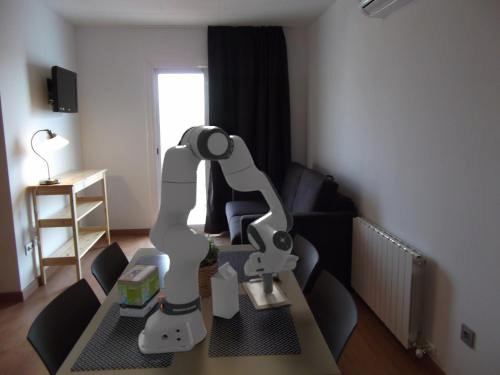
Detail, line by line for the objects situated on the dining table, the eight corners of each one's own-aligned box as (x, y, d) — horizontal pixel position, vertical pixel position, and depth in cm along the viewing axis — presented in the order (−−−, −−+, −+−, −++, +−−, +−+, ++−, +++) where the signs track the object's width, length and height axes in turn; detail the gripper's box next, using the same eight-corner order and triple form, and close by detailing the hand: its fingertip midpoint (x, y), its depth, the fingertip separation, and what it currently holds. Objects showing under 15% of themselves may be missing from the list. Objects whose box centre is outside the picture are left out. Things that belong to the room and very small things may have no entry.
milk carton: (213, 315, 141) (210, 267, 137) (223, 306, 147) (220, 260, 143) (229, 319, 138) (226, 270, 134) (239, 310, 144) (236, 263, 140)
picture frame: (260, 280, 169) (260, 267, 168) (260, 278, 170) (259, 266, 169) (277, 277, 171) (277, 264, 170) (277, 276, 172) (276, 263, 171)
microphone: (264, 294, 152) (263, 263, 149) (261, 289, 156) (260, 259, 153) (274, 292, 153) (273, 262, 150) (271, 288, 157) (270, 258, 154)
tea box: (144, 318, 141) (140, 281, 138) (119, 316, 143) (115, 279, 140) (161, 299, 156) (158, 264, 153) (139, 297, 158) (135, 263, 155)
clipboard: (256, 310, 143) (256, 306, 143) (241, 284, 166) (241, 280, 166) (291, 304, 146) (291, 301, 146) (272, 279, 169) (272, 276, 169)
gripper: (297, 248, 146) (289, 262, 157) (245, 255, 141) (241, 269, 153) (302, 263, 143) (293, 277, 154) (249, 270, 138) (244, 284, 149)
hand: (267, 273), depth 153 cm, fingers closed on microphone, 4 cm apart
